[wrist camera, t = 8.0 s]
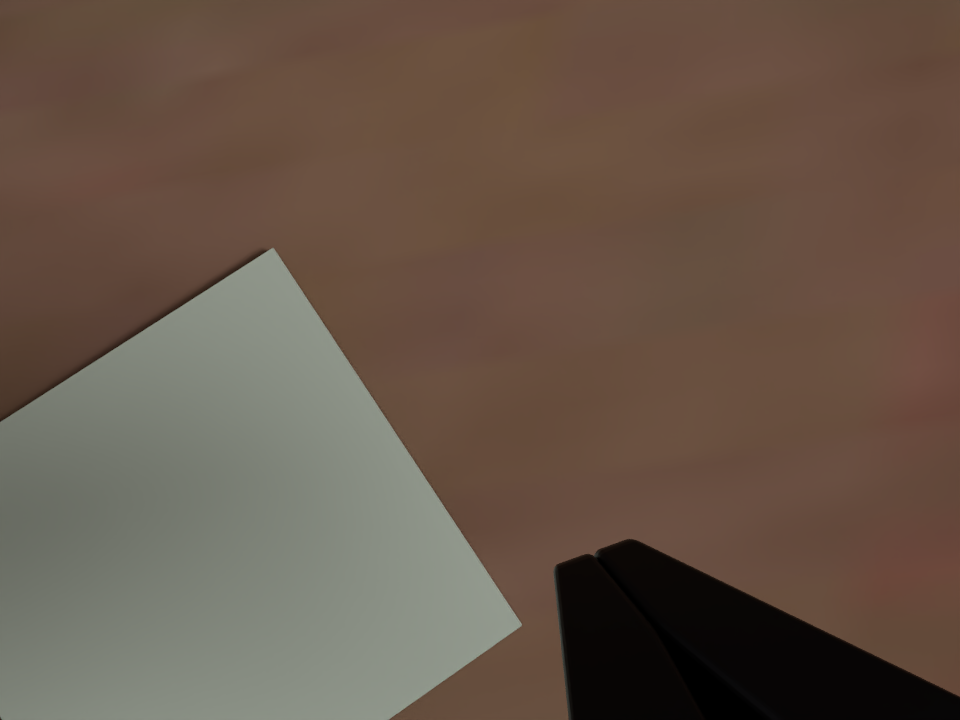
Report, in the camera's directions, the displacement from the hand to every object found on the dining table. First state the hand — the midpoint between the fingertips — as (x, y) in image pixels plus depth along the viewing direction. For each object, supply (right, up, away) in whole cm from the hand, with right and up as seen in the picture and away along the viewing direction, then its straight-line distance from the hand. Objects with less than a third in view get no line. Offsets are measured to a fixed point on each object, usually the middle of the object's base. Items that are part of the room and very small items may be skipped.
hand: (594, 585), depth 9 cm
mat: (-8, -2, +12) cm, 15 cm away
